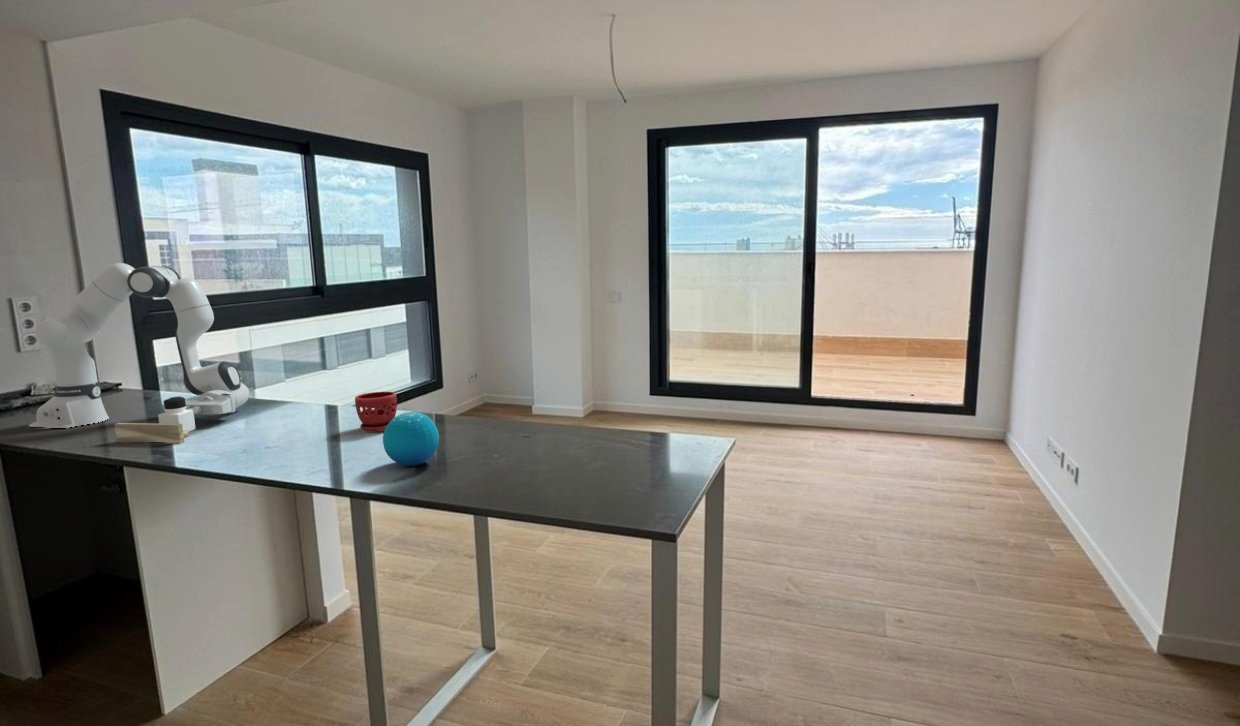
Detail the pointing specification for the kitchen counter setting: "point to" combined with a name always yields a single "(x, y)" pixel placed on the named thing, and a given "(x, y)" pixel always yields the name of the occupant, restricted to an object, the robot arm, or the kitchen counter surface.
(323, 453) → the kitchen counter surface
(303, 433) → the kitchen counter surface
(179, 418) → the medicine bottle
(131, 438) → the wooden bay
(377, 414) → the plant pot
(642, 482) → the kitchen counter surface
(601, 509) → the kitchen counter surface
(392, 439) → the decorative orb
